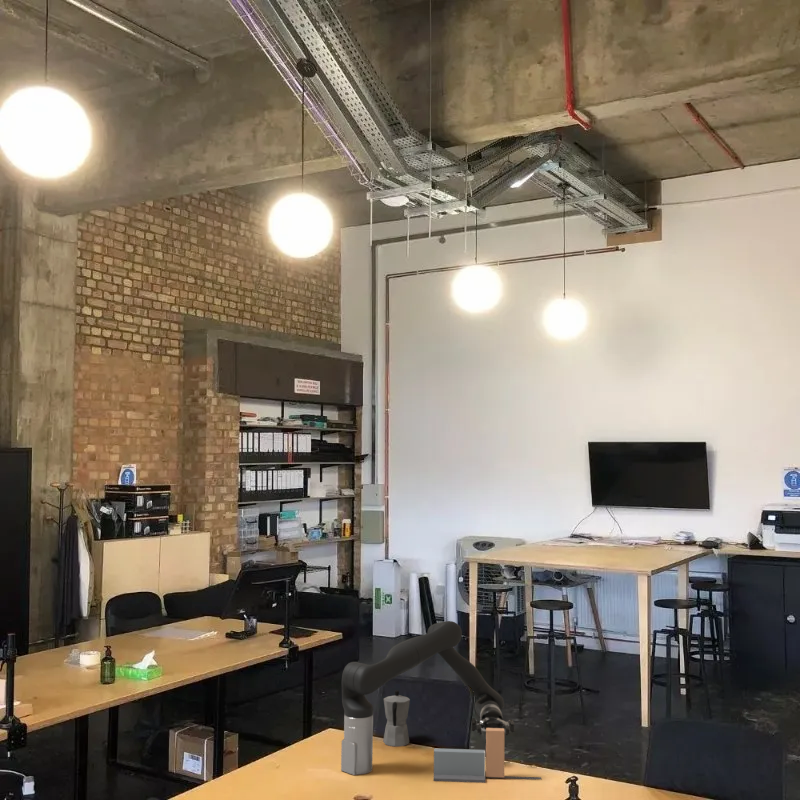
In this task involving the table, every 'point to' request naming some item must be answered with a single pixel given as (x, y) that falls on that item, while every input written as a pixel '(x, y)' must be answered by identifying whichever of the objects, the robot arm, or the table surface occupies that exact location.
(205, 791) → the table surface
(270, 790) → the table surface
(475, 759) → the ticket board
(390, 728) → the coffeepot
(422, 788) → the table surface
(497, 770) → the stub
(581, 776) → the table surface
